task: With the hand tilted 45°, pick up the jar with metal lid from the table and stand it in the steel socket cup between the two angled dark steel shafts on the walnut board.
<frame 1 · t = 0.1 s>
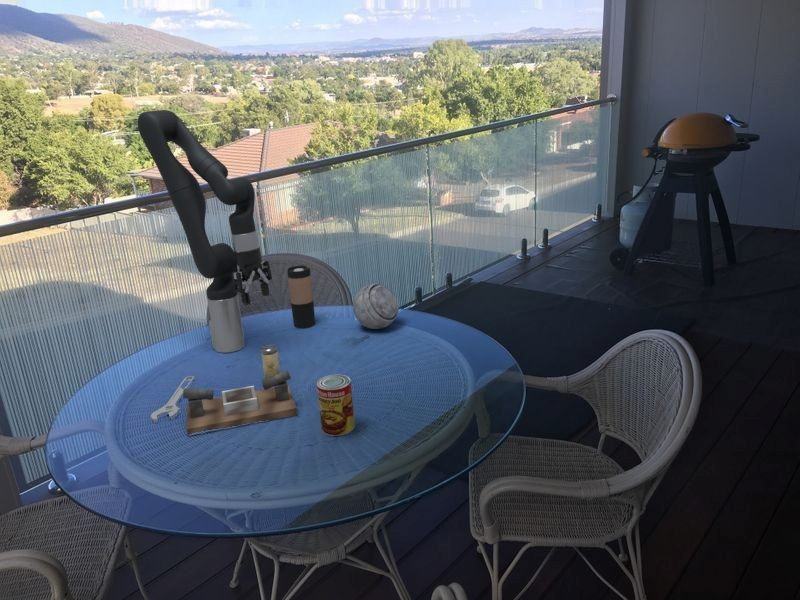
hand: (256, 300, 195), 17 cm above the table, fingers open, 8 cm apart
decorative orb: (376, 328, 216), on the table
canned food: (338, 428, 154), on the table
adjustable wrench: (179, 401, 173), on the table
travel mug: (304, 325, 222), on the table
jar with metal lid: (273, 379, 182), on the table
shaft mount: (241, 412, 164), on the table
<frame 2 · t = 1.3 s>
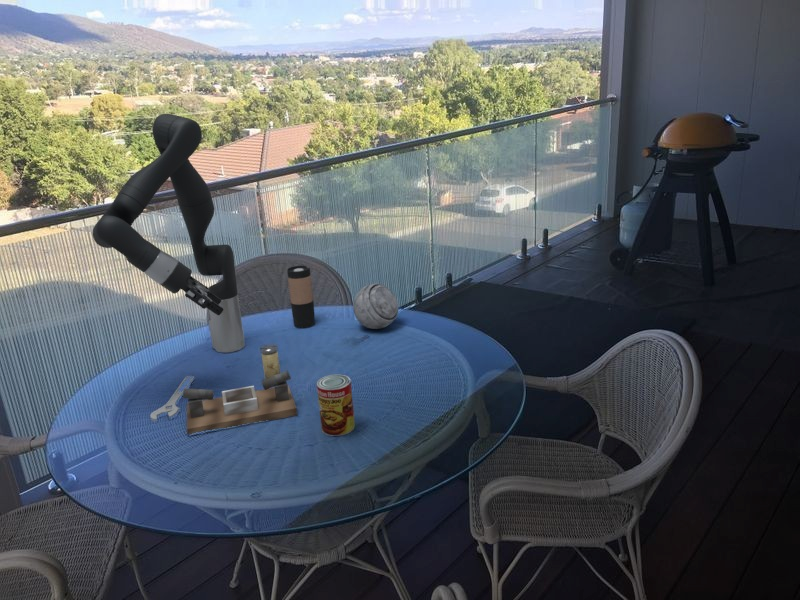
hand: (220, 307, 172), 23 cm above the table, fingers open, 8 cm apart
nothing on the table moved.
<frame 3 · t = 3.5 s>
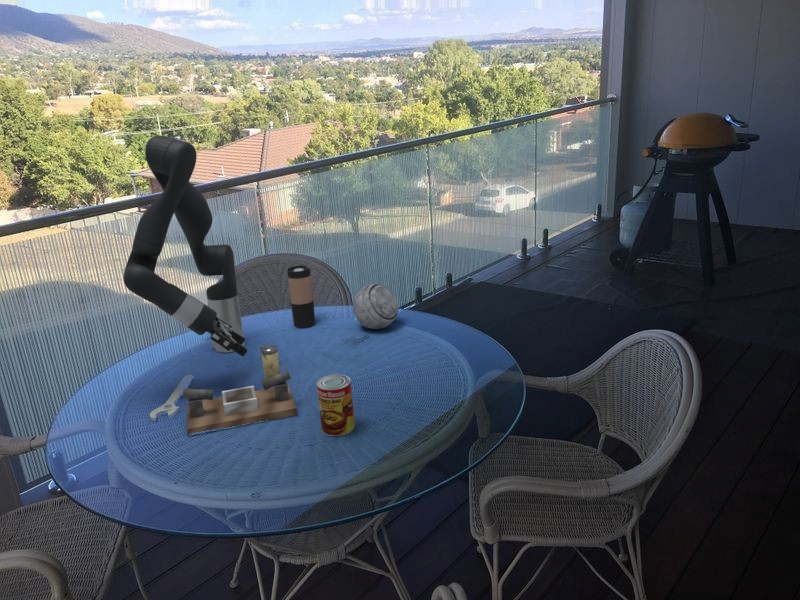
hand: (244, 347, 177), 11 cm above the table, fingers open, 8 cm apart
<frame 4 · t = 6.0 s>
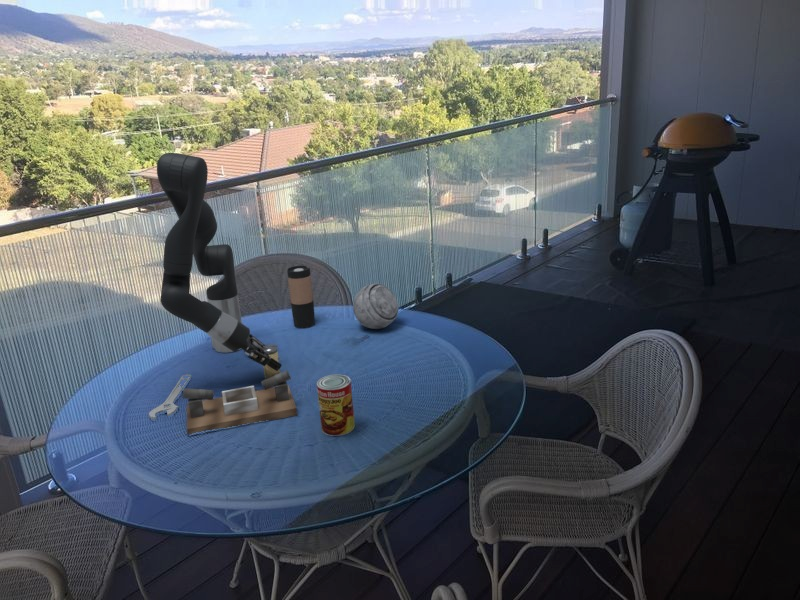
hand: (278, 364, 181), 4 cm above the table, fingers closed on jar with metal lid, 4 cm apart
jar with metal lid: (273, 379, 182), on the table, touching gripper
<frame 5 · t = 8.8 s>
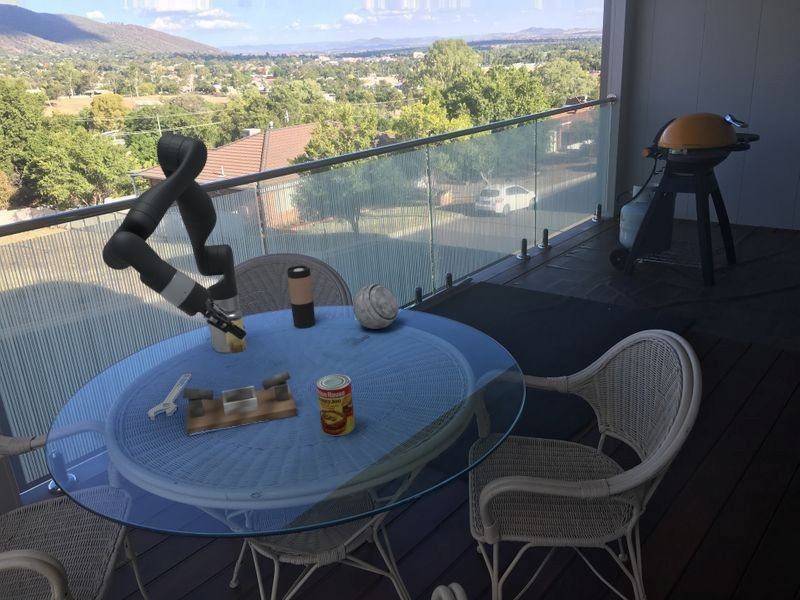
hand: (243, 332, 160), 21 cm above the table, fingers closed on jar with metal lid, 4 cm apart
jar with metal lid: (237, 349, 161), point 16 cm above the table, touching gripper
when the fingers open (7 cm above the table, at t = 11.9 s): jar with metal lid drops 1 cm, resting on shaft mount.
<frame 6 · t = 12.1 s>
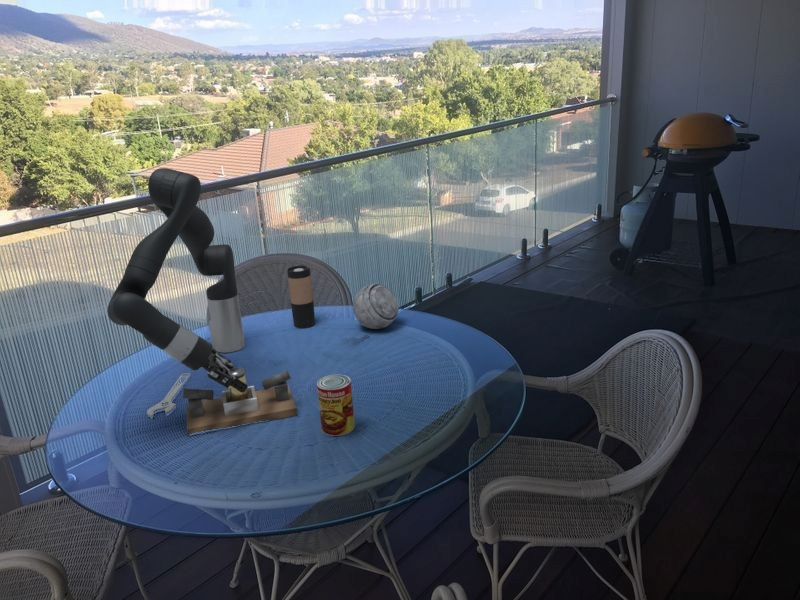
hand: (244, 383, 162), 8 cm above the table, fingers open, 6 cm apart
jar with metal lid: (240, 405, 163), point 2 cm above the table, touching shaft mount
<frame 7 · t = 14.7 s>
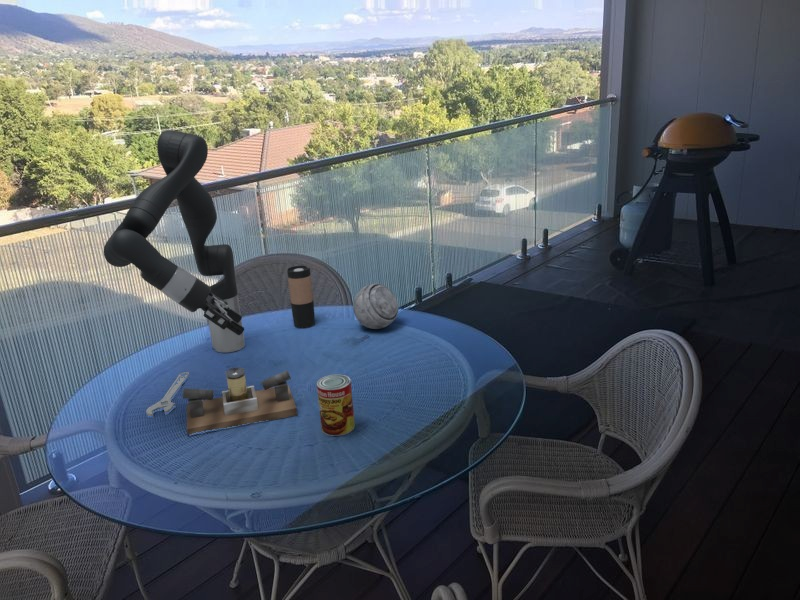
hand: (241, 326, 162), 22 cm above the table, fingers open, 8 cm apart
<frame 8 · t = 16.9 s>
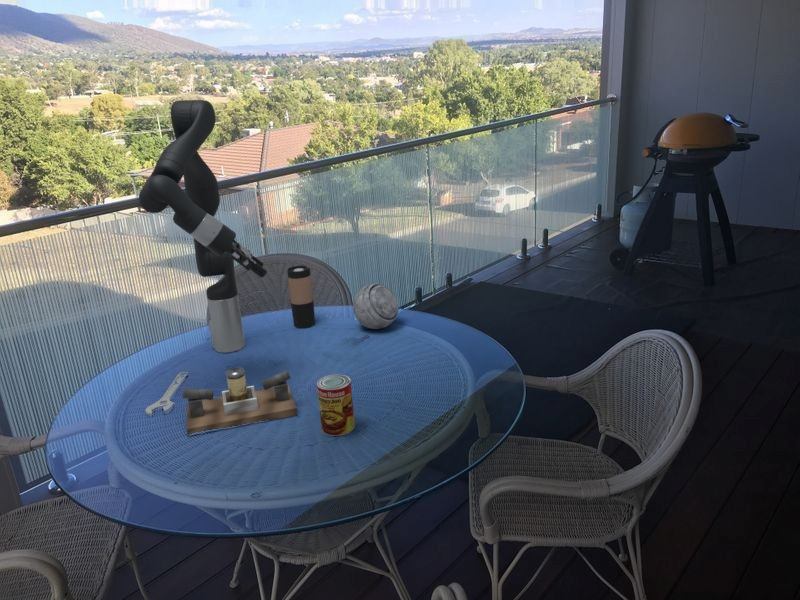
hand: (263, 270, 175), 31 cm above the table, fingers open, 8 cm apart
at the end: jar with metal lid 0.1 cm off-centre on the shaft mount, point 2.0 cm above the shaft mount's base; jar with metal lid tilted 0°; the gripper is holding nothing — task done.
